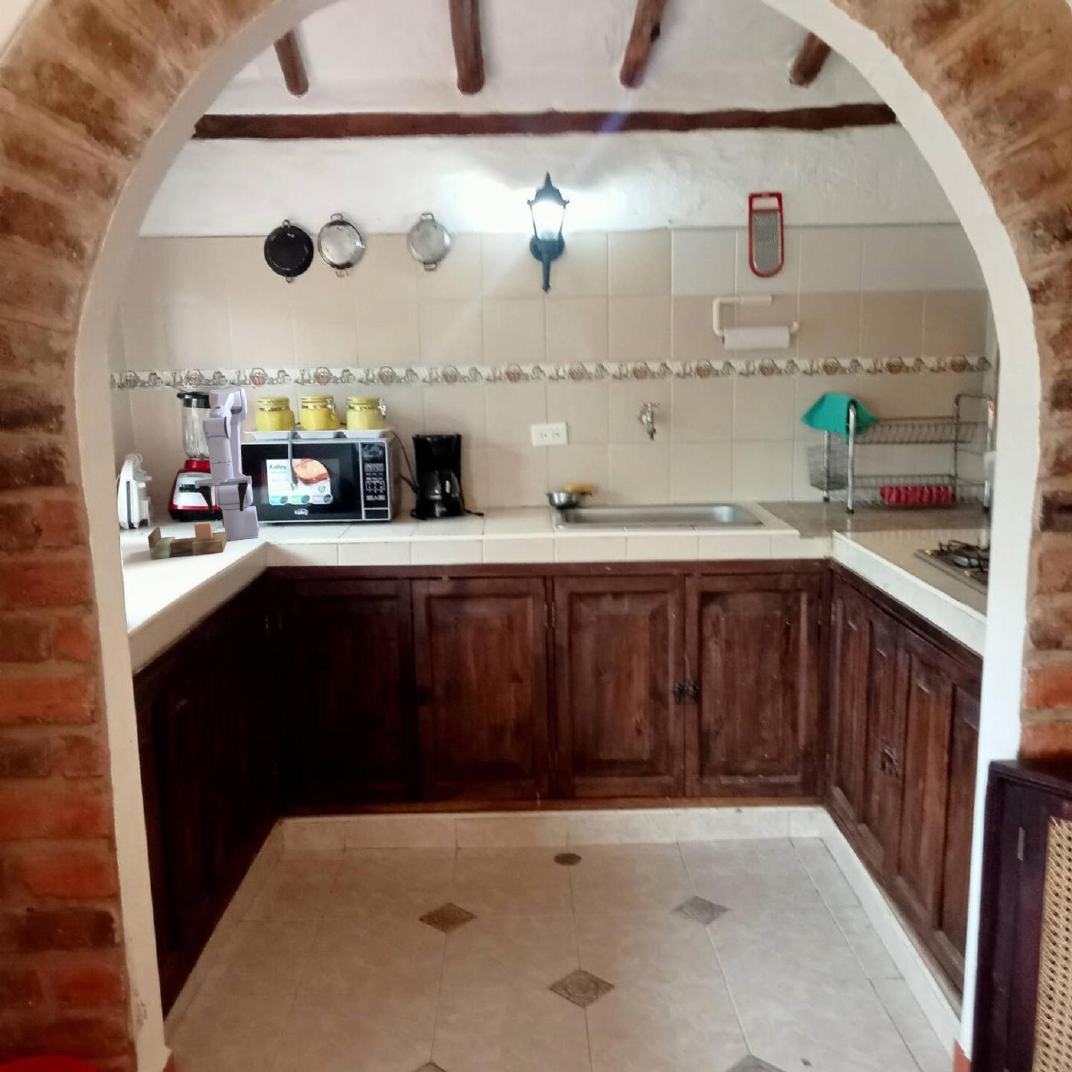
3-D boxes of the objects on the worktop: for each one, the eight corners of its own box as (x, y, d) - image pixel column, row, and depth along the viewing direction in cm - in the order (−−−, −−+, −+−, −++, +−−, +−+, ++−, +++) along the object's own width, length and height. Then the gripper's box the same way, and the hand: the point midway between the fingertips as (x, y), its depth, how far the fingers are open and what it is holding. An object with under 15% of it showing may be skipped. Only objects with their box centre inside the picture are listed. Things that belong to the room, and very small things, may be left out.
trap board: (226, 541, 264) (224, 520, 263) (223, 552, 249) (220, 529, 248) (158, 548, 260) (155, 527, 259) (150, 559, 245) (147, 536, 244)
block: (212, 536, 258) (210, 521, 257) (211, 538, 254) (209, 523, 253) (197, 537, 257) (195, 523, 256) (196, 539, 253) (194, 525, 252)
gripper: (190, 465, 247) (197, 516, 250) (248, 461, 250) (253, 511, 253) (194, 463, 254) (200, 513, 257) (249, 459, 257) (255, 508, 260)
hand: (227, 512), depth 255 cm, fingers open, 7 cm apart
